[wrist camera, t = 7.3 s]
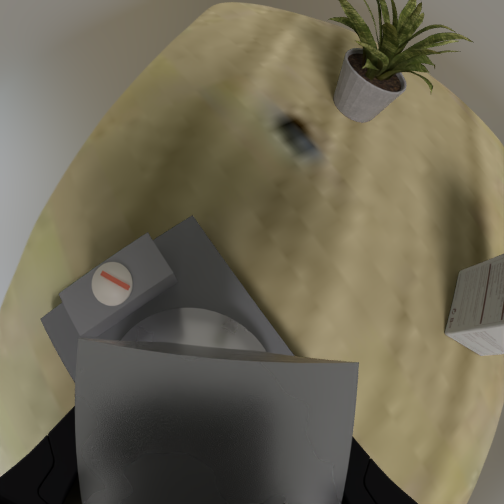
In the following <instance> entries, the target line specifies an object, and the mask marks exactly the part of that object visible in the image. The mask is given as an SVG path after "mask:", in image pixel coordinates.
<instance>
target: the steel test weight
mask: <svg viewBox="0 0 504 504" xmlns="http://www.w3.org/2000/svg"><path fill="white" fill-rule="evenodd" d="M358 367H359V362H347V361H335V360H325V359H315V358H306V357H298V356H290V355H282V354H275V353H268V352H261V351H255V350H241V349H228V348H216V347H206V346H196V345H187V344H178V343H170V342H146V341H119V340H101V339H86V338H78V347H77V361H76V380H75V435H76V453H77V466H78V476H79V485H80V492H81V499H82V504H341V502H342V497H343V492H344V487H345V481H346V475H347V469H348V463H349V457H350V450H351V442H352V434H353V426H354V417H355V407H356V396H357V383H358Z"/></svg>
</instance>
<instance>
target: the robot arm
mask: <svg viewBox="0 0 504 504" xmlns="http://www.w3.org/2000/svg"><path fill="white" fill-rule="evenodd" d="M0 504H82V499H81V492H80V485H79V476H78V466H77V453H76V435H75V406H74V407H73V408H72V409H71V410H70V411H69V412H68V413H67V414H66V415H65V417H64V418H63V419H62V420H61V421H60V422H59V423H58V424H57V425H56V426H55V427H54V428H53V429H52V430H51V431H50V432H49V433H48V435H46V436H45V437H44V439H43V440H42V441H41V442H40V443H39V444H38V445H37V446H36V447H35V448H34V449H33V450H32V451H31V452H30V453H29V454H28V455H26V456H25V457H24V458H23V459H22V460H21V461H19V462H18V463H17V464H16V465H15V466H13V467H12V468H11V469H10V470H8V471H7V472H6V473H5V474H3V475H2V476H1V477H0ZM341 504H418V503H417V502H416V501H414V500H413V499H412V498H411V497H410V496H408V495H407V494H406V493H405V492H404V491H403V490H402V489H400V488H399V487H398V486H397V485H396V484H395V483H394V482H393V481H392V480H391V479H390V478H389V477H388V476H387V475H386V474H385V473H384V472H383V471H382V470H381V469H380V468H379V467H378V466H377V464H376V463H375V462H374V461H373V460H372V459H370V456H369V455H368V454H367V453H366V452H365V451H364V449H363V448H362V447H361V446H360V445H359V443H358V442H357V441H356V440H355V439H354V438H353V436H352V442H351V450H350V457H349V463H348V469H347V475H346V481H345V487H344V492H343V497H342V502H341Z"/></svg>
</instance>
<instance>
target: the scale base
mask: <svg viewBox="0 0 504 504" xmlns="http://www.w3.org/2000/svg"><path fill="white" fill-rule="evenodd" d="M59 296H60V298H61V300H62V303H61V304H60V305H58V306H57V307H56V308H54V309H53V310H52V311H50V312H49V313H48V314H46V315H45V316H44V317H42V318H41V321H42V324H43V326H44V328H45V330H46V332H47V334H48V336H49V338H50V340H51V342H52V344H53V345H54V347H55V349H56V351H57V353H58V355H59V357H60V358H61V360H62V362H63V364H64V365H65V367H66V369H67V371H68V372H69V374H70V376H71V377H72V379H73V381H74V382H75V380H76V361H77V347H78V338H86V339H101V340H119V341H121V340H122V338H123V337H124V336H125V335H126V333H127V332H128V331H129V330H130V329H131V328H133V327H134V326H135V325H136V324H138V323H139V322H140V321H142V320H144V319H145V318H147V317H149V316H151V315H154V314H156V313H158V312H162V311H165V310H169V309H175V308H200V309H206V310H210V311H214V312H217V313H220V314H222V315H225V316H227V317H229V318H231V319H233V320H235V321H237V322H238V323H239V324H241V325H242V326H244V327H245V328H246V329H247V330H249V331H250V332H251V333H252V334H253V335H254V336H255V337H256V338H257V339H258V341H259V342H260V343H261V344H262V346H263V347H264V349H265V350H266V352H268V353H275V354H282V355H290V356H294V355H293V353H292V352H291V351H290V349H289V348H288V347H287V345H286V344H285V343H284V341H283V340H282V339H281V337H280V336H279V335H278V333H277V332H276V331H275V329H274V328H273V326H272V325H271V324H270V322H269V321H268V320H267V318H266V317H265V316H264V314H263V313H262V312H261V310H260V309H259V307H258V306H257V305H256V303H255V302H254V301H253V299H252V298H251V297H250V295H249V294H248V292H247V291H246V290H245V288H244V287H243V286H242V284H241V283H240V281H239V280H238V279H237V277H236V276H235V274H234V273H233V272H232V270H231V269H230V267H229V266H228V265H227V263H226V262H225V260H224V259H223V258H222V256H221V255H220V253H219V252H218V251H217V249H216V248H215V246H214V245H213V244H212V242H211V241H210V239H209V238H208V237H207V235H206V234H205V232H204V231H203V229H202V228H201V227H200V225H199V224H198V222H197V221H196V219H195V218H194V217H193V215H192V216H191V217H189V218H187V219H186V220H184V221H182V222H181V223H179V224H178V225H176V226H174V227H173V228H171V229H170V230H168V231H166V232H165V233H163V234H162V235H160V236H159V237H157V238H155V239H154V240H152V238H151V237H150V235H149V234H148V232H147V233H146V234H144V235H143V236H141V237H140V238H138V239H137V240H135V241H134V242H132V243H130V244H129V245H127V246H126V247H124V248H123V249H121V250H120V251H118V252H117V253H115V254H114V255H113V256H111V257H110V258H108V259H107V260H105V261H104V262H102V263H101V264H99V265H98V266H96V267H95V268H94V269H92V270H91V271H89V272H88V273H86V274H85V275H84V276H82V277H81V278H79V279H78V280H77V281H75V282H74V283H73V284H71V285H70V286H68V287H67V288H66V289H64V290H63V291H62V292H60V293H59Z"/></svg>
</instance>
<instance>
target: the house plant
mask: <svg viewBox="0 0 504 504" xmlns="http://www.w3.org/2000/svg"><path fill="white" fill-rule="evenodd" d="M339 1H340V4H341V6H342V8H343V10H344V12H345V14H346V15H347V17H348V18H346V17H340V18H339V17H334V18H330V20H334V21H337V22H341V23H343V24H345V25H347V26H349V27H350V28H352V29H354V31H355V32H356V33H357V34H358V36H359V38H360V41H361V42H359V41H356V42H357V43H358V44H359V45H361V46H363V49H361V48H353V49H350V50H348V51H347V52H346V54H345V57H344V61H343V65H342V68H341V72H340V76H339V79H338V83H337V87H336V90H335V94H334V103H335V105H336V107H337V108H338V109H339V111H340V112H341V113H343V114H344V115H345V116H346V117H348V118H350V119H352V120H354V121H357V122H367V121H370V120H372V119H373V118H374V117H375V116H376V115H378V114H379V113H380V112H381V111H382V110H383V109H384V108H386V107H387V106H388V105H389V104H390V103H391V102H392V101H394V100H395V99H396V98H397V97H398V96H399V95H401V94H402V93H403V92H404V91H405V90H406V81H405V79H404V77H403V75H402V73H401V72H411V73H413V74H416V73H414V72H412V71H419V72H428V73H429V71H428V70H427V69H426V67H425V66H424V65H422V64H421V63H425V64H430V65H434V64H433V63H432V62H431V61H430V60H429V58H428V57H427V56H426V55H430V54H440V53H445V52H457V51H440V52H435V51H433V50H429V49H427V48H429V47H434V46H440V45H444V44H448V43H452V42H458V41H451V40H454V39H465V40H468V41H470V42H472V41H471V40H469V39H468V38H466V37H464V36H462V35H460V34H457V33H438V34H434V35H431V36H429V37H427V38H426V39H424V40H422V41H420V42H418V43H416V44H414V45H413V46H411V47H409V48H408V49H406V50H405V51H403V52H402V50H403V49H404V48H405V46H406V44H407V43H408V41H410V40H411V39H412V38H414V37H415V36H417V35H419V34H420V33H422V32H424V31H426V30H429V29H433V28H439V27H442V28H447V29H449V30H451V31H453V30H452V29H450V28H448V27H446V26H443V25H430V26H427V27H425V28H423V29H421V30H419V31H418V32H417V33H415V34H414V35H412V34H413V33H414V32H415V31H416V29H417V28H418V27H419V25H420V24H421V23H422V22H423V18H424V13H421V15H419V14H420V12H421V8H422V2H421V3H419V4H418V5H417V7H416V0H409V1H408V3H407V4H406V6H405V7H404V9H403V10H402V12H401V14H400V16H399V20H398V19H397V11H396V7H395V3H394V1H393V0H391V3H392V11H393V25H391V24H390V19H389V12H388V8H387V5H386V2H385V0H376V1H377V4H378V12H379V25H380V26H379V28H380V42H379V41H378V46H379V49H378V50H377V46H376V43H375V41H374V39H373V36H372V34H371V32H370V30H369V27H368V26H367V25H366V23H365V22H364V20H363V19H362V18H361V17H360V15H359V14H358V13H357V12H356V11H355V9H354V8H353V7H352V6H351V5H350V4H349V3H348V1H347V0H339ZM364 2H365V3H366V1H365V0H364ZM379 2H380V3H379ZM366 5H367V7H368V9H369V11H370V13H371V10H370V8H369V6H368V4H367V3H366ZM380 5H381V8H380ZM415 8H416V9H415ZM381 9H382V15H383V18H384V22H385V24H383V25H382V22H381ZM371 16H372V18H373V15H372V13H371ZM373 21H374V18H373ZM374 24H375V23H374ZM375 26H376V25H375ZM382 30H383V36H382ZM454 32H455V31H454ZM376 34H377V32H376ZM377 40H378V37H377ZM444 40H449V41H444ZM440 41H444V42H440ZM436 42H440V43H436ZM434 43H435V44H434ZM399 44H400V45H399ZM401 52H402V53H401ZM434 68H435V65H434ZM416 75H418V76H420V77H421V78H422V79H424V80H425V81H426V83H427V84H428V85H429V88H430V90H431V92H432V88H433V86H432V84H431V83H430V81H429V80H427V79H426V78H425V77H423V76H421V75H419V74H416ZM430 95H431V94H430Z"/></svg>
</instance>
